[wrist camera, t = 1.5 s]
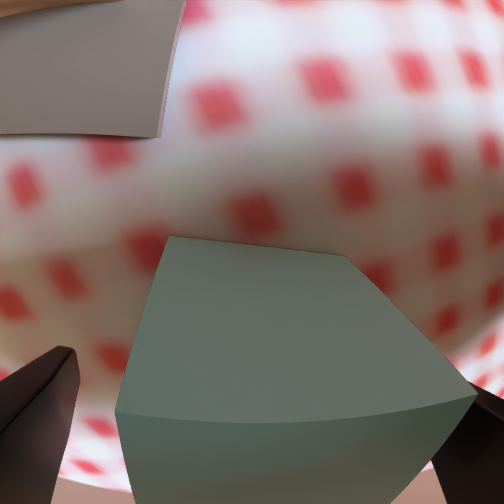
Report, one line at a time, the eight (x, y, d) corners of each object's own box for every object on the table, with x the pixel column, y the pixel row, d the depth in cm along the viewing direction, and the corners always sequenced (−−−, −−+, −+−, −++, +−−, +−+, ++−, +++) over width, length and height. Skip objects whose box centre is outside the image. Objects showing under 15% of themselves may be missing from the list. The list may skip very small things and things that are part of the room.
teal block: (344, 255, 9) (478, 393, 4) (305, 385, 11) (360, 529, 5) (169, 235, 8) (114, 410, 3) (162, 378, 10) (148, 544, 4)
